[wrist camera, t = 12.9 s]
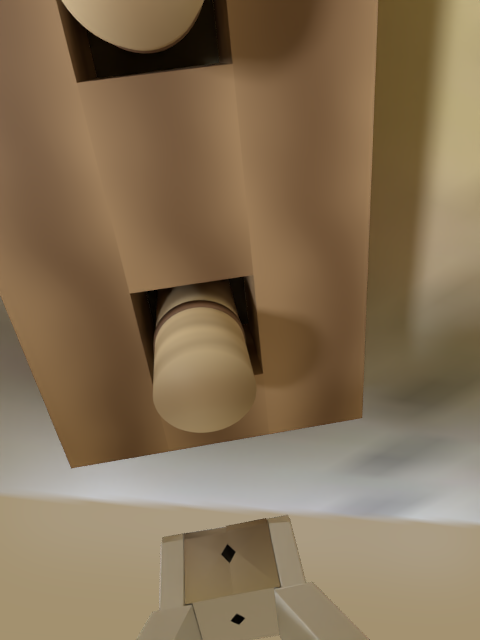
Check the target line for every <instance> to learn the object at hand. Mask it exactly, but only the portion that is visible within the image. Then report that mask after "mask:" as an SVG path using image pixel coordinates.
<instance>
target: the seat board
mask: <svg viewBox="0 0 480 640" xmlns="http://www.w3.org/2000/svg"><path fill="white" fill-rule="evenodd" d="M213 9H214V18H215V27H216V36H217V45H218V54H219V63H216V64H208V65H199V66H191V67H183V68H175V69H166V70H158V71H150V72H142V73H134V74H125V75H117V76H109V77H101V78H97V75H96V71H95V67H94V62H93V58H92V53H91V49H90V45H89V40H88V36H87V32H86V28H85V27H84V26H83V25H82V24H81V23H80V22H79V21H77V20H76V18H75V17H74V16H73V15H72V14H71V13H70V11H69V10H68V9H67V8H66V6H65V5H64V3H63V2H62V0H0V296H1V298H2V301H3V303H4V306H5V308H6V311H7V313H8V315H9V318H10V320H11V323H12V325H13V328H14V330H15V332H16V335H17V337H18V340H19V342H20V345H21V347H22V349H23V352H24V354H25V357H26V359H27V362H28V364H29V367H30V369H31V371H32V374H33V376H34V379H35V381H36V384H37V386H38V388H39V391H40V393H41V396H42V398H43V401H44V403H45V405H46V408H47V410H48V413H49V415H50V418H51V420H52V423H53V425H54V427H55V430H56V432H57V435H58V437H59V440H60V442H61V444H62V447H63V449H64V452H65V454H66V457H67V459H68V461H69V464H70V466H71V468H76V467H82V466H87V465H93V464H99V463H105V462H110V461H116V460H122V459H128V458H134V457H139V456H145V455H151V454H157V453H163V452H168V451H174V450H180V449H186V448H192V447H197V446H203V445H209V444H215V443H220V442H226V441H232V440H238V439H244V438H249V437H255V436H261V435H267V434H273V433H278V432H284V431H290V430H296V429H302V428H307V427H313V426H319V425H325V424H330V423H336V422H342V421H348V420H354V419H359V418H362V408H363V382H364V356H365V330H366V304H367V278H368V252H369V227H370V201H371V175H372V149H373V123H374V97H375V71H376V45H377V19H378V0H213ZM236 277H243V280H244V289H245V298H246V307H247V316H248V324H242V327H243V330H244V333H245V338H246V347H247V351H248V354H249V358H250V362H251V366H252V369H253V373H254V377H255V381H256V386H257V392H256V397H255V400H254V403H253V405H252V407H251V408H250V410H249V411H248V413H247V414H246V415H245V416H244V417H243V418H241V419H240V420H239V421H238V422H236V423H235V424H233V425H231V426H229V427H227V428H224V429H221V430H218V431H214V432H206V433H196V432H189V431H184V430H181V429H178V428H176V427H174V426H172V425H171V424H169V423H168V422H166V421H165V420H164V419H163V418H162V417H161V416H160V414H159V413H158V412H157V410H156V408H155V405H154V402H153V379H154V349H153V342H154V332H155V327H154V322H153V318H152V314H151V309H150V305H149V301H148V296H147V292H146V291H150V290H157V289H163V288H170V287H176V286H183V285H190V284H196V283H203V282H210V281H216V280H223V279H230V278H236Z"/></svg>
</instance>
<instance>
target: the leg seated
mask: <svg viewBox="0 0 480 640" xmlns="http://www.w3.org/2000/svg"><path fill="white" fill-rule="evenodd" d="M62 2H63V3H64V5H65V6H66V8H67V9H68V10H69V11H70V13H71V14H72V15H73V16H74V17H75V18H76V20H77V21H79V22H80V23H81V24H82V25H83V26H84V27H85V28H86V29H88V30H89V31H90V32H92V33H93V34H94V35H96V36H98V37H99V38H101V39H103V40H105V41H107V42H109V43H112V44H113V45H115V46H117V47H119V48H122V49H124V50H127V51H131V52H135V53H157V52H162V51H165V50H168V49H169V48H171V47H173V46H174V45H176V44H177V43H178V42H179V41H180V40H182V39H183V38H184V37H185V36H186V34H187V33H188V32H189V31H190V29H191V28H192V27H193V25H194V23H195V21H196V20H197V18H198V16H199V13H200V11H201V8H202V4H203V2H204V0H62Z"/></svg>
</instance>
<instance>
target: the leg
mask: <svg viewBox="0 0 480 640" xmlns="http://www.w3.org/2000/svg"><path fill="white" fill-rule="evenodd" d="M153 349H154V379H153V402H154V405H155V408H156V410H157V412H158V413H159V414H160V416H161V417H162V418H163V419H164V420H165V421H166V422H168V423H169V424H171V425H172V426H174V427H176V428H178V429H181V430H184V431H189V432H196V433H206V432H214V431H218V430H221V429H224V428H227V427H229V426H231V425H233V424H235V423H236V422H238V421H239V420H240V419H241V418H243V417H244V416H245V415H246V414H247V413H248V411H249V410H250V408H251V407H252V405H253V403H254V400H255V397H256V392H257V386H256V381H255V377H254V373H253V369H252V366H251V362H250V358H249V354H248V351H247V347H246V338H245V333H244V330H243V327H242V324H241V322H240V320H239V317H238V313H237V309H236V305H235V302H234V298H233V294H232V290H231V287H230V283H229V280H228V279H223V280H216V281H210V282H203V283H196V284H190V285H183V286H176V287H170V288H163V289H157V307H156V329H155V332H154V342H153Z"/></svg>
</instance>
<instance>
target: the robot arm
mask: <svg viewBox="0 0 480 640" xmlns="http://www.w3.org/2000/svg"><path fill="white" fill-rule="evenodd" d="M159 596H160V597H159V610H158V611H154V612H152V614H151V615H150V617H149V619H148V620H147V622H146V624H145V626H144V627H143V629H142V631H141V633H140V634H139V636H138V638H137V640H253V639H259V638H265V637H271V636H277V635H280V638H281V639H282V640H370V639H369V638H368V637H367V636H366V635H365V634H364V633H363V632H362V631H361V630H360V629H359V628H358V627H357V626H356V625H355V624H354V623H353V622H352V621H351V620H350V619H349V618H348V617H347V616H346V615H345V614H344V613H343V612H342V611H341V610H340V609H339V608H338V607H337V606H336V605H335V604H334V603H333V602H332V601H331V600H330V599H329V598H328V597H327V596H326V595H325V594H324V593H323V592H322V591H321V590H320V589H319V588H318V587H317V586H316V585H315V584H314V583H313V582H308V583H306V580H305V576H304V572H303V569H302V564H301V560H300V557H299V552H298V548H297V545H296V541H295V537H294V533H293V529H292V525H291V521H290V518H289V517H288V515H284V516H279V517H274V518H269V519H266V518H265V519H260V520H254V521H249V522H245V523H240V524H234V525H229V526H226V527H222V528H216V529H210V530H203V531H197V532H191V533H184V534H178V535H172V536H167V537H163V538H162V542H161V558H160V593H159Z"/></svg>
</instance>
